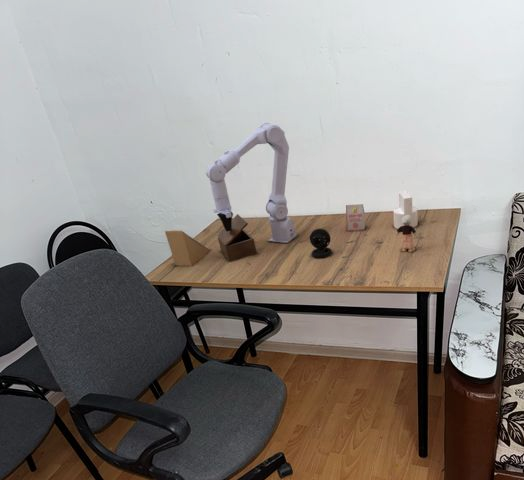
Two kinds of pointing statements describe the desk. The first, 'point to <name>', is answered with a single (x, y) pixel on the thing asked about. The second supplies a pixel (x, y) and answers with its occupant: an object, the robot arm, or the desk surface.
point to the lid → (232, 230)
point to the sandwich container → (185, 248)
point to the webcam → (320, 243)
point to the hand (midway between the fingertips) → (228, 230)
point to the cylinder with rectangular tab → (405, 210)
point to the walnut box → (238, 246)
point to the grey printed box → (355, 217)
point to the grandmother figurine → (407, 234)
